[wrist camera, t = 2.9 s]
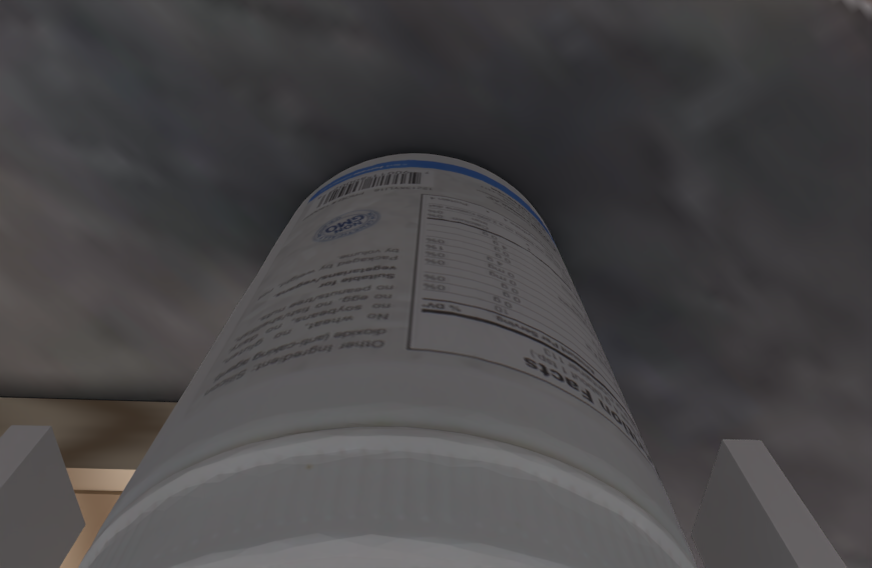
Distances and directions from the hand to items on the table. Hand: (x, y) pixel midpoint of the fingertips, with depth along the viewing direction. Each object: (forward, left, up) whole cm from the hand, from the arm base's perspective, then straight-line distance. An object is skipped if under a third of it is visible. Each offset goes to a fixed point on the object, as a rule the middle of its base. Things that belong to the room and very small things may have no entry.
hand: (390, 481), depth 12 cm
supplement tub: (0, 0, -10) cm, 10 cm away
